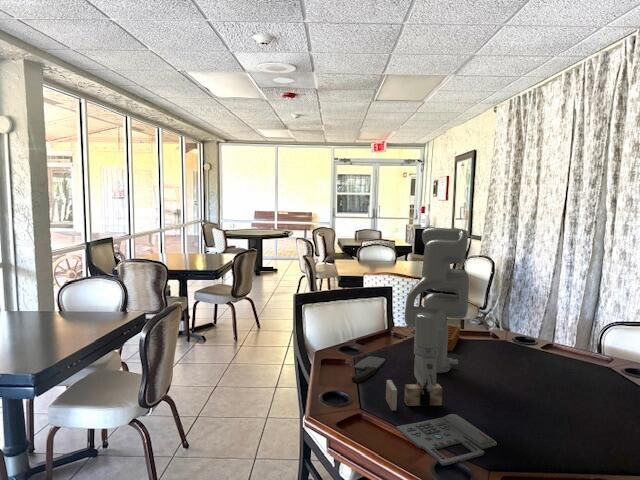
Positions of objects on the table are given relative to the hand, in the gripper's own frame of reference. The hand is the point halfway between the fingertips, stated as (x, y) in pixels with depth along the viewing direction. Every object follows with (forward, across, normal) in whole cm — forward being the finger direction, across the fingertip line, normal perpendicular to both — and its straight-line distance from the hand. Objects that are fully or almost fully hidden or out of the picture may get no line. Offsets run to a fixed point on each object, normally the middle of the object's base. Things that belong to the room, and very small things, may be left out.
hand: (422, 401), depth 142 cm
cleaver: (+2, +31, +14) cm, 34 cm away
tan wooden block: (+1, 0, 0) cm, 1 cm away
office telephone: (+1, -21, -1) cm, 21 cm away
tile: (+1, 0, +11) cm, 11 cm away
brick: (+2, +67, -33) cm, 74 cm away
